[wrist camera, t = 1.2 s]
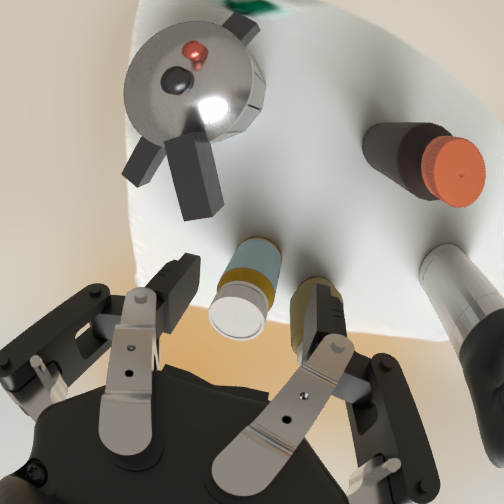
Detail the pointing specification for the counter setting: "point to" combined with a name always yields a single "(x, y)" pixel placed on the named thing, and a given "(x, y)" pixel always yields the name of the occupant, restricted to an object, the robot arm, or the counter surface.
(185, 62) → the lid
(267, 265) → the bottle
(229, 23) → the pot
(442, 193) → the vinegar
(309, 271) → the counter surface
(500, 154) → the counter surface
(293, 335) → the squeeze bottle
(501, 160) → the counter surface
